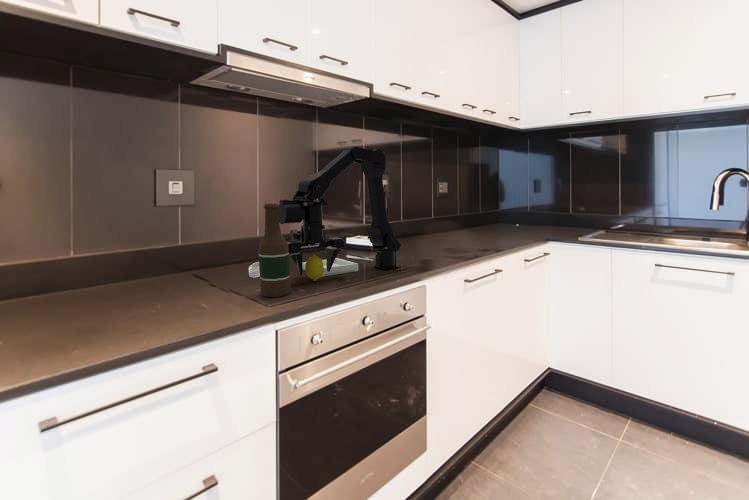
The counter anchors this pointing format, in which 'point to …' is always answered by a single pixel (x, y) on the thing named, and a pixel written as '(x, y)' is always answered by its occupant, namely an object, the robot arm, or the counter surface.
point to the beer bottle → (273, 256)
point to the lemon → (314, 267)
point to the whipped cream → (254, 270)
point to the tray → (338, 267)
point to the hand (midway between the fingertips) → (314, 273)
